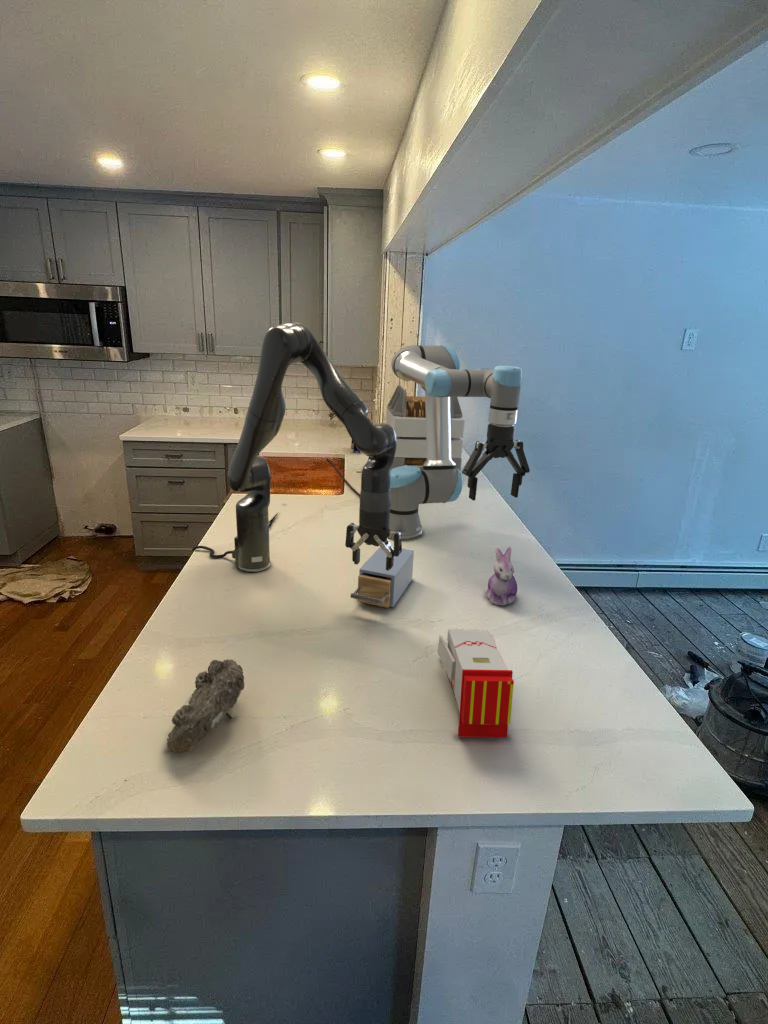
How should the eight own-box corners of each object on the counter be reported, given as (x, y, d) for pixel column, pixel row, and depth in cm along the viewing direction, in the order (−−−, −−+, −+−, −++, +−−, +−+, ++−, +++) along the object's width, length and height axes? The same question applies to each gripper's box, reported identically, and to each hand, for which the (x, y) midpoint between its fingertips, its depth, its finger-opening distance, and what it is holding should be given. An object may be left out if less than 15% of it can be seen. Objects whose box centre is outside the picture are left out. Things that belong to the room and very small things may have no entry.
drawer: (381, 617, 144) (383, 590, 141) (350, 610, 146) (350, 584, 144) (406, 581, 163) (408, 557, 161) (378, 575, 166) (379, 552, 163)
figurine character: (362, 456, 306) (363, 447, 319) (363, 443, 302) (363, 434, 316) (350, 456, 306) (351, 446, 319) (350, 442, 302) (351, 433, 316)
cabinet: (392, 607, 151) (394, 575, 147) (358, 600, 154) (359, 568, 150) (412, 579, 167) (414, 550, 163) (380, 573, 169) (381, 544, 166)
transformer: (382, 463, 289) (386, 382, 275) (445, 464, 293) (451, 384, 279) (390, 482, 257) (394, 392, 243) (460, 483, 261) (468, 394, 247)
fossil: (192, 660, 117) (244, 628, 112) (224, 691, 120) (276, 661, 115) (142, 746, 98) (202, 712, 93) (182, 779, 101) (242, 748, 96)
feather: (285, 507, 224) (287, 503, 224) (267, 531, 198) (270, 526, 197) (281, 504, 224) (284, 500, 223) (263, 528, 197) (265, 524, 197)
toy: (488, 613, 130) (523, 677, 101) (484, 667, 133) (517, 744, 104) (435, 612, 130) (455, 676, 101) (432, 666, 133) (451, 743, 103)
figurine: (499, 610, 151) (506, 558, 146) (476, 593, 160) (482, 544, 155) (527, 603, 156) (534, 553, 151) (503, 587, 164) (509, 539, 159)
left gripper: (341, 506, 137) (340, 567, 143) (397, 515, 133) (394, 577, 138) (353, 497, 144) (352, 556, 149) (407, 505, 139) (403, 565, 145)
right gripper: (466, 428, 148) (459, 504, 156) (548, 426, 156) (538, 498, 163) (454, 422, 155) (448, 495, 162) (533, 420, 163) (524, 490, 170)
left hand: (372, 566), depth 144 cm, fingers open, 8 cm apart
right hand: (493, 497), depth 163 cm, fingers open, 13 cm apart
